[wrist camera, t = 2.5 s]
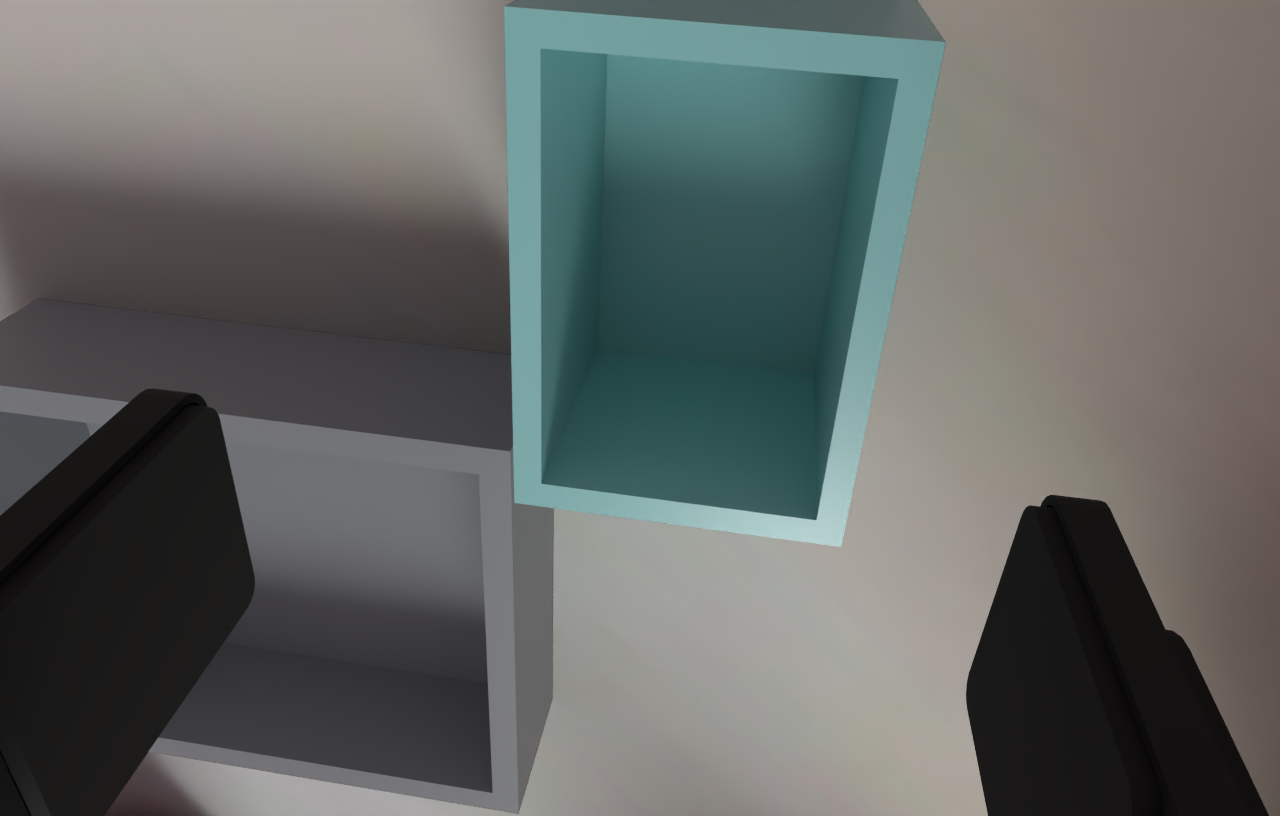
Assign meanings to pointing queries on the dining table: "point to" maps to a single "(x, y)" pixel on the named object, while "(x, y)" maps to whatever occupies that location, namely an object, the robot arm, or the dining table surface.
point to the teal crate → (707, 250)
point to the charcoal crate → (332, 542)
